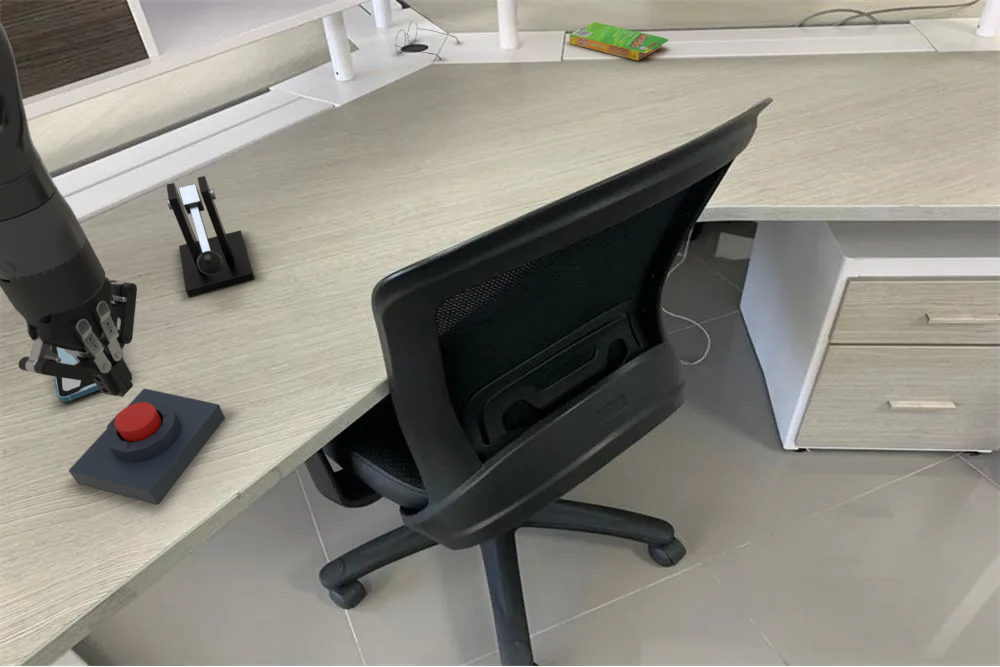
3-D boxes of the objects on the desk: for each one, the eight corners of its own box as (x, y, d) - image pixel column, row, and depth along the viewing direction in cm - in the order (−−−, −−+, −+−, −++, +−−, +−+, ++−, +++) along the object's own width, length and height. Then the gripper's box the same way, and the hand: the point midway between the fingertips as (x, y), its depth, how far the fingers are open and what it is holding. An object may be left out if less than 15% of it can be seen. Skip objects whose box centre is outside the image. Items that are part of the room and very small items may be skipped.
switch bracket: (255, 279, 98) (227, 200, 90) (188, 297, 96) (153, 217, 88) (243, 236, 107) (216, 160, 98) (181, 252, 104) (149, 175, 96)
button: (145, 445, 72) (138, 434, 71) (113, 438, 73) (105, 427, 72) (169, 417, 75) (163, 406, 74) (138, 410, 76) (131, 399, 74)
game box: (594, 34, 167) (669, 48, 155) (569, 47, 162) (645, 62, 150) (594, 21, 165) (670, 34, 153) (568, 33, 160) (645, 48, 148)
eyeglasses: (461, 42, 165) (459, 19, 162) (439, 61, 156) (436, 38, 153) (418, 38, 168) (415, 16, 165) (394, 57, 160) (391, 34, 156)
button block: (158, 504, 71) (142, 480, 68) (77, 483, 73) (59, 459, 70) (225, 417, 79) (213, 393, 76) (151, 401, 82) (137, 377, 79)
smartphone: (106, 310, 93) (124, 375, 83) (109, 316, 94) (128, 381, 84) (46, 331, 91) (57, 400, 81) (50, 336, 91) (61, 406, 81)
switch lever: (228, 275, 93) (223, 264, 90) (203, 282, 92) (197, 271, 89) (204, 194, 96) (198, 181, 93) (179, 199, 96) (173, 186, 93)
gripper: (58, 201, 64) (133, 341, 76) (-66, 288, 55) (41, 433, 66) (125, 210, 62) (192, 352, 74) (9, 302, 53) (106, 448, 64)
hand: (120, 390), depth 70 cm, fingers closed
